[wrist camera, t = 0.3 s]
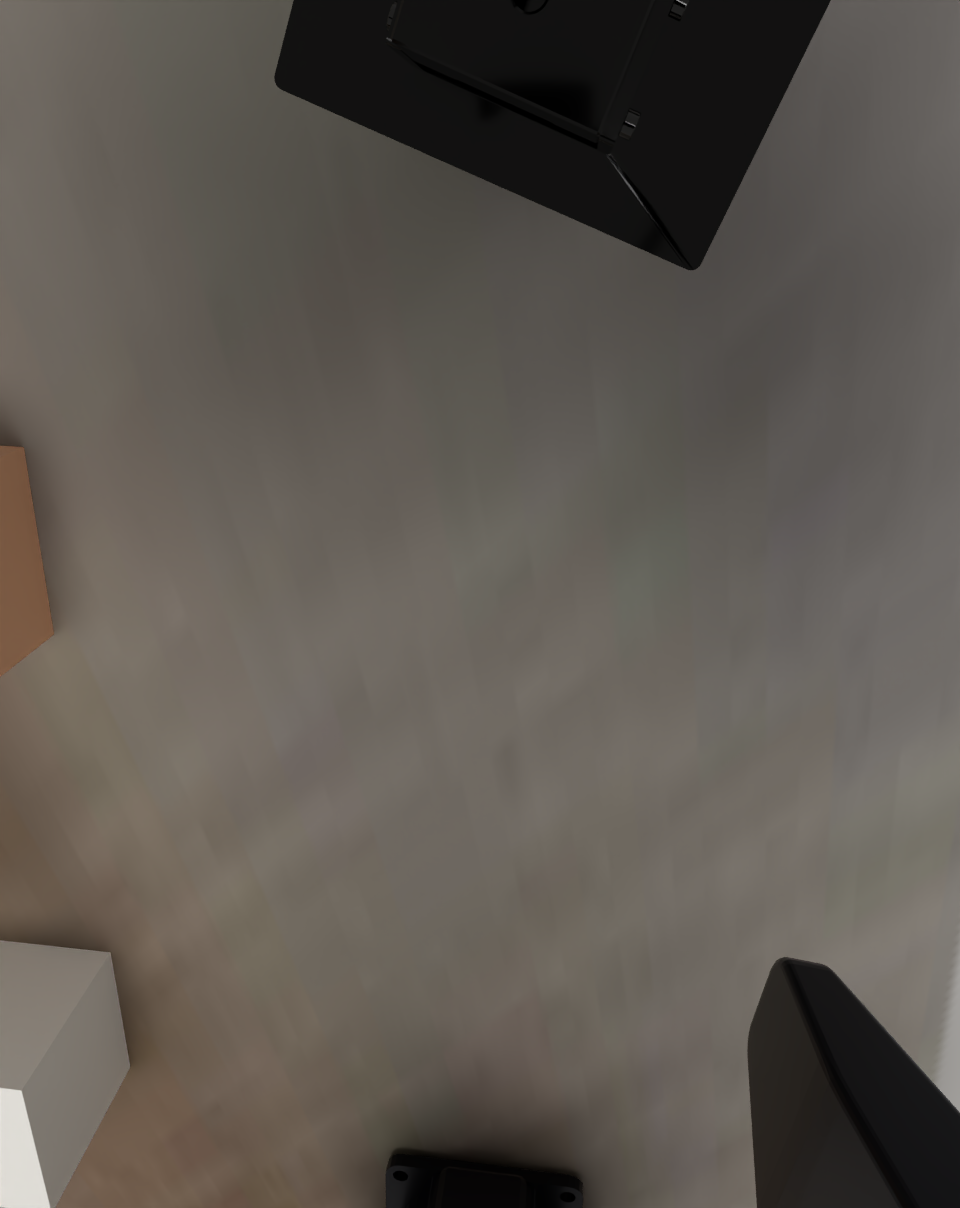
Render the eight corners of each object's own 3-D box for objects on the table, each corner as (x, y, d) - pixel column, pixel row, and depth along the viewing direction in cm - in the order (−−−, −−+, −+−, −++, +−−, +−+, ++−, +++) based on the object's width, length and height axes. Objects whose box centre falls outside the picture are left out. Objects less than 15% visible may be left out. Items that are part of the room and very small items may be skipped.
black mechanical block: (929, -25, 17) (1041, -103, 13) (735, 348, 20) (773, 385, 16) (303, -325, 16) (202, -513, 12) (200, 109, 19) (90, 81, 15)
